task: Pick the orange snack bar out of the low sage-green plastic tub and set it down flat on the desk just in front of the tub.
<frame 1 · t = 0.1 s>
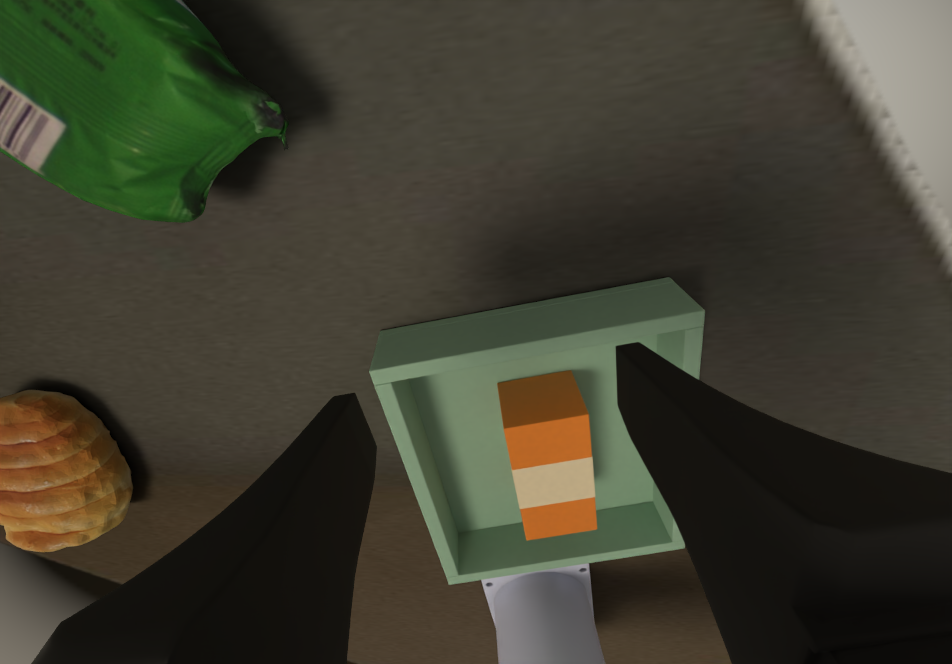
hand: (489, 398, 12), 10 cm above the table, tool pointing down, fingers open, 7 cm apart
pastry: (72, 452, 26), on the table
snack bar: (542, 434, 26), point 1 cm above the table, touching tub
snack package: (75, 8, 16), on the table
tub: (540, 427, 26), on the table
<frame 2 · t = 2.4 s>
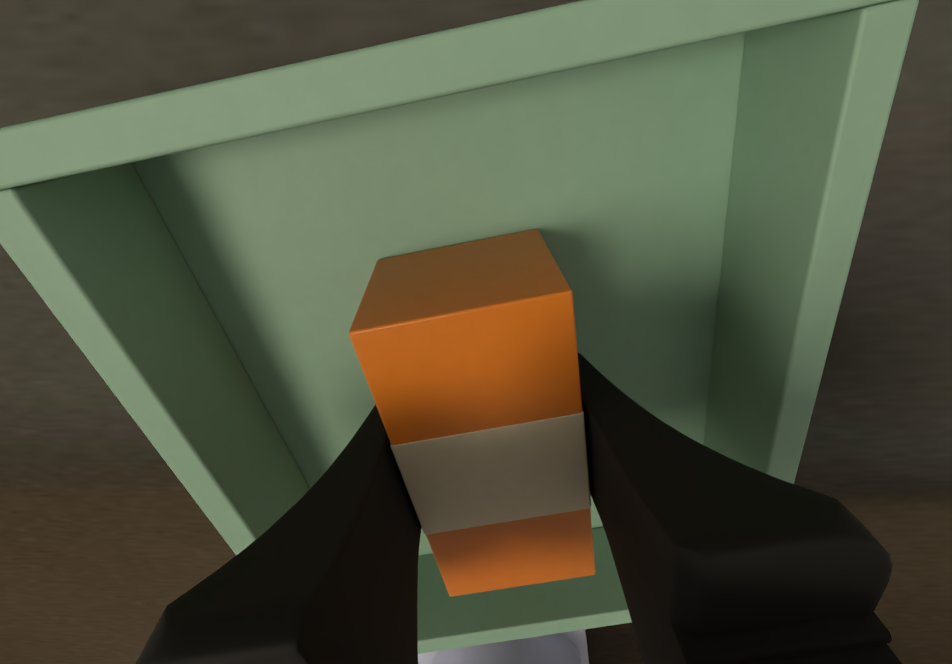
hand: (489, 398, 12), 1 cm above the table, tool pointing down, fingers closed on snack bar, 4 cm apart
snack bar: (486, 381, 13), point 1 cm above the table, touching gripper, tub
tub: (486, 369, 13), on the table
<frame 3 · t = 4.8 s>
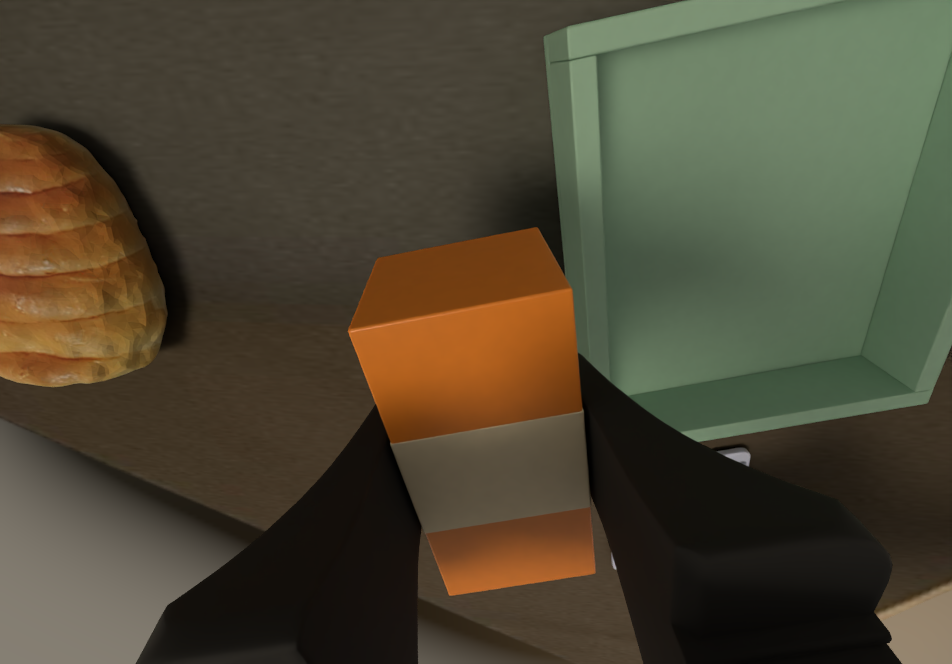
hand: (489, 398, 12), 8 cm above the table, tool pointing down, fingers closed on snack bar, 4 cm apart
pastry: (83, 261, 18), on the table
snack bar: (486, 380, 13), point 8 cm above the table, touching gripper
tub: (734, 229, 19), on the table
when the fingers open (1 cm above the table, at t = 7.5 s): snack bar stays where it is, on the table.
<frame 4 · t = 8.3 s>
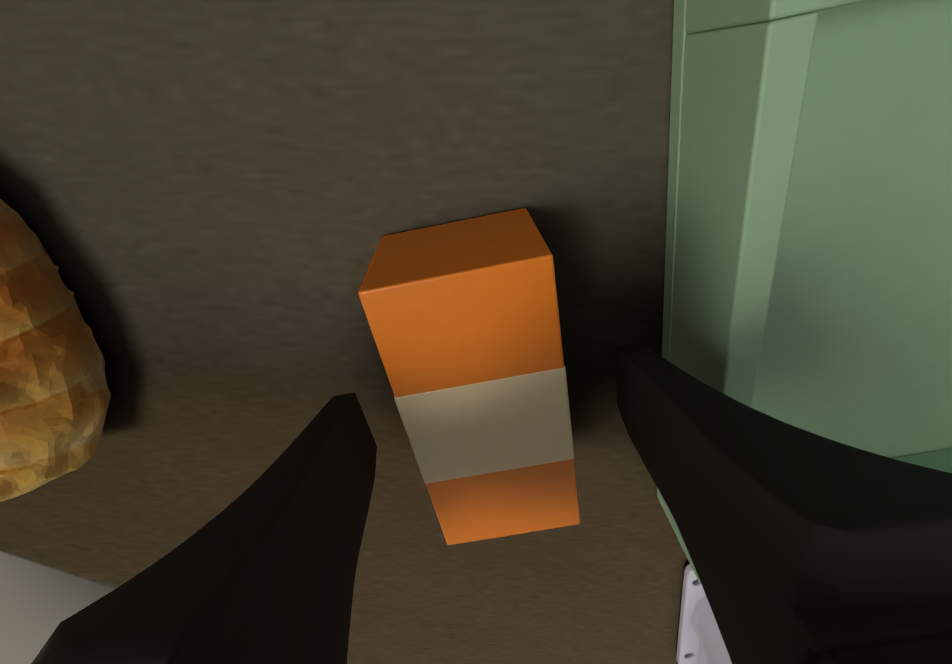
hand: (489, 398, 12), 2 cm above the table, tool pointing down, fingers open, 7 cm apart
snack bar: (480, 351, 14), on the table
tub: (902, 276, 14), on the table
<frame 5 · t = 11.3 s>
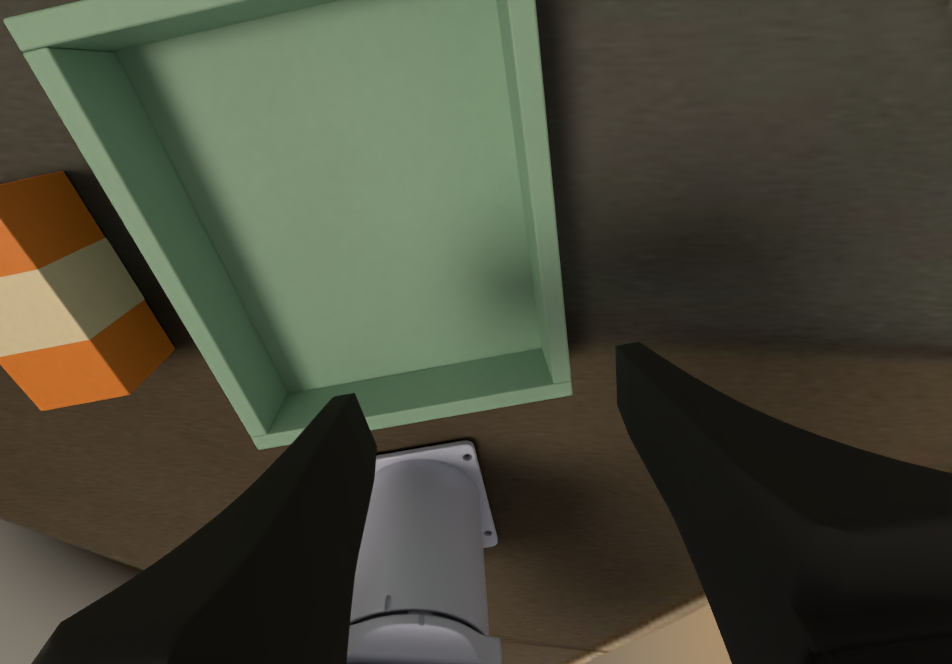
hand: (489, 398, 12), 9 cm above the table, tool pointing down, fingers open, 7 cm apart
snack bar: (83, 277, 20), on the table
tub: (370, 222, 19), on the table
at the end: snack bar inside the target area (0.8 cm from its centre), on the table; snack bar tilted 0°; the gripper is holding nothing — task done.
